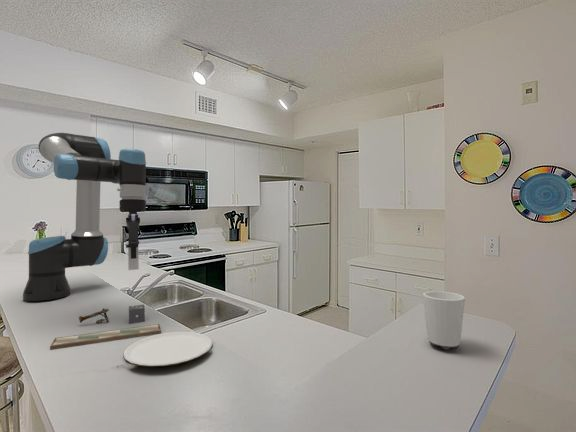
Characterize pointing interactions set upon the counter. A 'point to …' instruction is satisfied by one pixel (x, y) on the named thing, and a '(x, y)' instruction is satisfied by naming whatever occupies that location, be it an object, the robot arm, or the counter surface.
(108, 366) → the counter surface
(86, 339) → the board
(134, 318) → the die
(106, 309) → the lantern lamp post
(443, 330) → the cup
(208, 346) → the plate
